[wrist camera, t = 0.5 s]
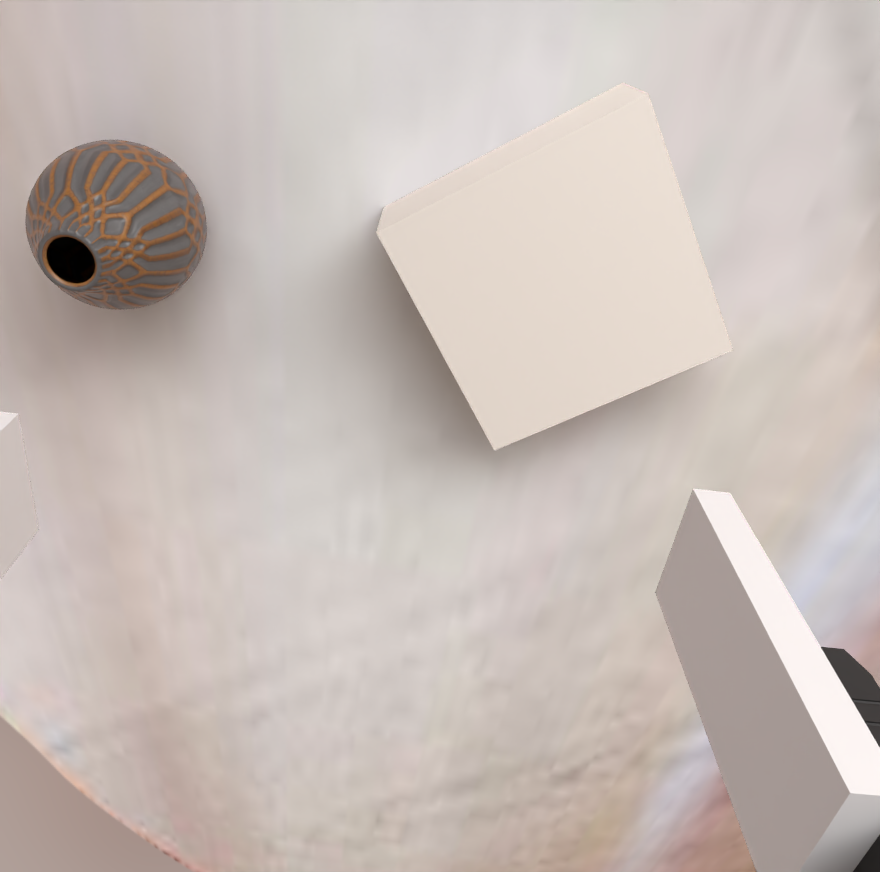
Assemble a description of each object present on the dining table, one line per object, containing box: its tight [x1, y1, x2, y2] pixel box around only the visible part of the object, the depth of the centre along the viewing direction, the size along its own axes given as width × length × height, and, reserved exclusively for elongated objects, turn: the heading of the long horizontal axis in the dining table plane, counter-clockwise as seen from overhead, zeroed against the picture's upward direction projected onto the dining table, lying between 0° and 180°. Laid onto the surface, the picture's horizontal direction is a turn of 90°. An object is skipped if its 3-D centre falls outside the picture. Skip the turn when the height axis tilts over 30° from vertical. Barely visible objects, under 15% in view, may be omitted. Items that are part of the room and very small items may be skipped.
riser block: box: [376, 83, 733, 451], centre depth 35 cm, size 12×12×5 cm
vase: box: [26, 140, 207, 310], centre depth 32 cm, size 7×7×9 cm
